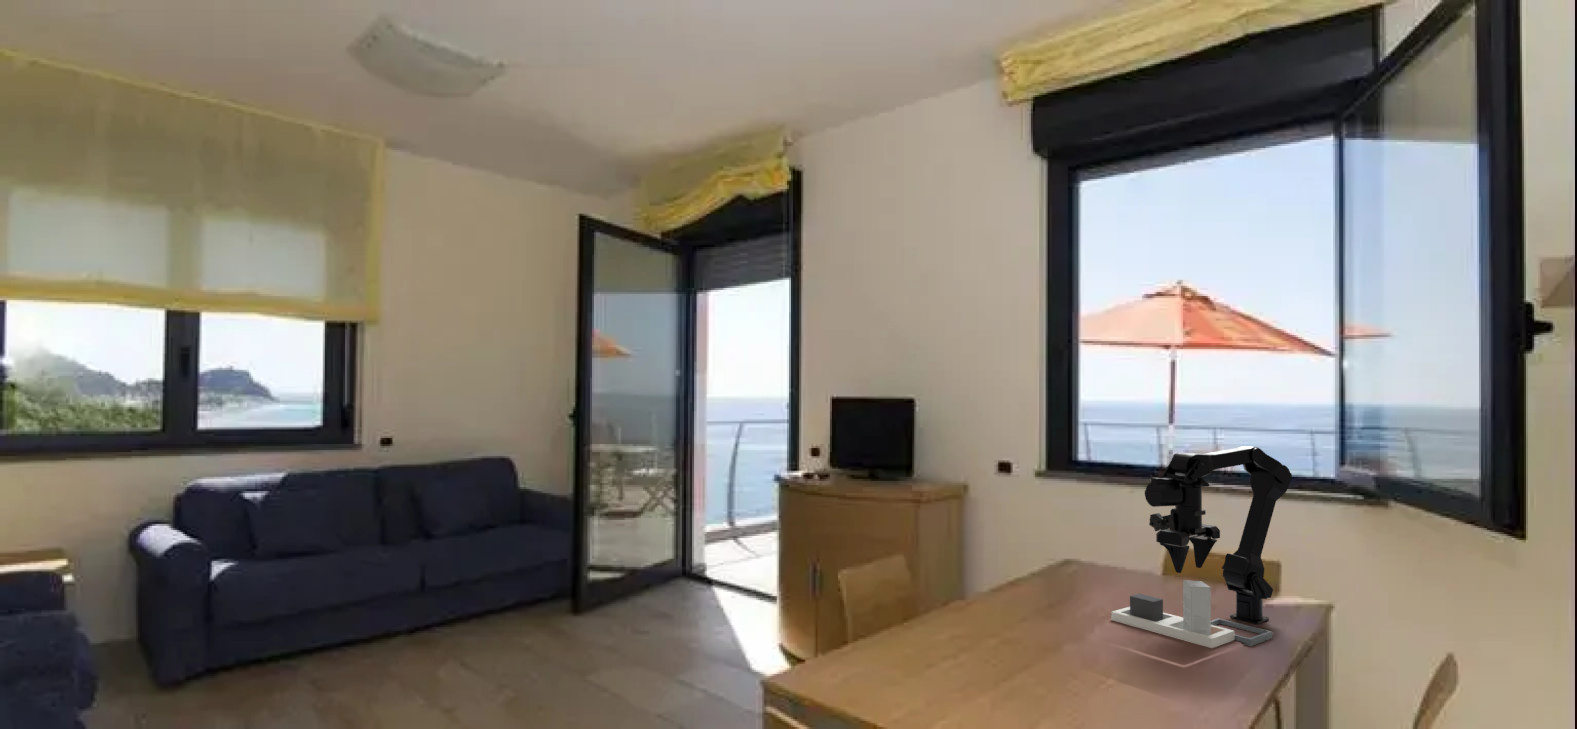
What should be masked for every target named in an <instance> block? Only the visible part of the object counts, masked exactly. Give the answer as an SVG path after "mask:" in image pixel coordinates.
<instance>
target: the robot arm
mask: <svg viewBox="0 0 1577 729" xmlns="http://www.w3.org/2000/svg"><path fill="white" fill-rule="evenodd" d="M1236 466H1237V467H1238V466H1243V469H1244V471H1245V472H1246V473H1248V475H1250V479H1249V484H1250V487H1251V492H1252V498H1251V503H1250V506H1249V509H1248V513H1247V516H1246V520H1245V524H1244V527H1243V531H1242V535H1241V538H1240V540H1239V545H1238V548H1237V550H1235V551H1234V552H1233V553H1226V554H1225V556H1224V557H1225V558H1224V563H1223V565H1222V566H1221V569H1222V577H1223V578H1224V581H1225V585H1226V588H1227V590H1228V591H1232V592H1235V613H1232V614H1230V615H1229V617H1230V618H1232V619H1237V620H1240V621H1245V622H1248V623H1251V624H1257V625H1258V624H1261V623H1264V622H1267V621H1269V620H1270V617H1268V616H1265V615H1264V604H1263V603H1264V600H1267V599H1270V598H1272V595H1273V592H1274V588H1273V587H1272V586H1271V585H1270V584H1269V583H1268V582H1267V580H1266V579H1265V578H1264V576H1265V566H1264V564H1263V560H1262V553H1263V549H1264V546H1265V542H1266V539H1267V536H1268V532H1269V528H1270V524H1271V521H1272V517H1273V514H1274V509H1275V506H1276V503H1277V501H1278V500H1279V499H1280V498H1282V497H1283V495H1285V494H1286V493H1287V490H1288V488H1289V486H1290V484H1291V482H1292V478H1293V477H1292V476H1293V475H1292V473H1291V472H1290V469H1289V467H1287V465H1285V464H1282V462H1280V461H1279V460H1277V459H1275V458H1274V457H1272V456H1270V455H1268V454H1267V453H1266V452H1265V451H1263V450H1262V449H1261V448H1260V447H1257V446H1247V445H1242V446H1239V447H1234V448H1229V449H1223V450H1216V451H1212V452H1204V453H1197V452H1183V451H1182V452H1176V453H1174V454H1173V455H1172V458H1171V460H1170V461H1169V463H1168V465H1167V467H1166V468H1165V470H1164V472H1163V474H1162V475H1161V477H1151V478H1150V479H1151V480H1150V483H1148V484H1147V486H1146V487H1145V490H1144V496H1145V500H1146V502H1147V504H1148V505H1150V507H1152V508H1153V507H1154V508H1155V507H1156V508H1157V507H1159V508H1160V507H1174V506H1175V508H1171V509H1170V514H1167V515H1162V514H1161V513H1159V512H1158V513H1152V514H1149V515H1150V516H1149V524H1148V525H1149V527H1151V528H1154V531H1155V532H1156V534H1155V535H1156V536H1155V538H1156V539H1155V540H1156V543H1159V544H1160V546H1163V548H1165V549H1166V550H1167V552H1168V554H1169V556H1170V559H1171V562H1172V565H1173V567H1174V571H1175V572H1176V573H1177V574H1181V573H1182V571H1183V568H1184V565H1185V563H1186V559H1187V556H1188V553H1189V550H1190V546H1191V545H1188V544H1189V542H1191V544H1192V547H1193V554H1194V562H1195V568H1196V569H1197V568H1198V569H1201V568H1202V567H1203V565H1204V564H1205V561H1206V560H1207V558H1208V556H1209V554H1210V552H1211V551H1212V549H1213V547H1214V546H1215V544H1216V543H1217V542H1218V539H1221V530H1220V528H1219V527H1217V525H1213V524H1204V523H1203V516H1204V515H1206V509H1203V503H1202V502H1203V501H1202V500H1203V489H1202V488H1203V487H1204V488H1205V487H1208V488H1209V487H1210V483H1209V482H1208V481H1207V480H1205V478H1204V477H1206V476H1209V475H1211V473H1212V472H1213V471H1216V470H1220V469H1225V468H1231V467H1232V468H1233V467H1236Z"/></svg>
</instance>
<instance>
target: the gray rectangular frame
mask: <svg viewBox="0 0 1577 729" xmlns="http://www.w3.org/2000/svg"><path fill="white" fill-rule="evenodd" d="M1211 625H1214V626H1218V625H1224V626H1228V627H1231V628H1235V629H1240V630H1244V631H1247V632H1252V633H1255V634H1257V635H1254V636H1252V637H1246V636H1243V635H1242V636H1241V635H1238V634H1235V640H1234V641H1236V642H1237V641H1238V642H1241V644H1242V645H1244V646H1248V647H1253V646H1255V645H1258V644H1261V643H1263V642H1266V641H1268V640H1271V639H1273V631H1272V630H1269V629H1263V628H1259V627H1255V626H1250V625H1247V624H1243V623H1239V622H1235V621H1231V620H1227V619H1222V618H1219V617H1217V618H1215V619H1212V620H1211ZM1270 638H1271V639H1270ZM1265 640H1266V641H1265Z"/></svg>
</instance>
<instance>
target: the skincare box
mask: <svg viewBox="0 0 1577 729" xmlns="http://www.w3.org/2000/svg"><path fill="white" fill-rule="evenodd" d="M1182 587H1183V588H1182V589H1183V592H1182V593H1183V594H1182V595H1183V596H1182V597H1183V598H1182V601H1183V602H1182V603H1183V604H1182V605H1183V608H1182V609H1183V610H1182V611H1183V616H1182V617H1183V629H1184V630H1188V631H1192V632H1195V633H1199V634H1203V635H1206V636H1209V635H1211V621H1212V620H1211V619H1212V618H1211V617H1212V615H1211V612H1212V611H1211V610H1212V609H1211V607H1212V606H1211V605H1212V602H1211V601H1212V600H1211V599H1212V598H1211V597H1212V596H1211V594H1212V593H1211V592H1212V591H1211V588H1212V587H1211V586H1209V585H1208V584H1206V583H1205V582H1204V581H1202V580H1190V579H1189V580H1188V579H1183V584H1182Z"/></svg>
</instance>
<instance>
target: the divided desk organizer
mask: <svg viewBox="0 0 1577 729" xmlns="http://www.w3.org/2000/svg"><path fill="white" fill-rule="evenodd" d="M1110 614H1111V621H1113V622H1116V623H1120V624H1124V625H1127V626H1131V627H1134V628H1137V629H1141V630H1145V631H1149V632H1151V633H1152V632H1153V633H1156V634H1160V635H1164V636H1166V637H1170V638H1173V639H1178V640H1181V641H1185V642H1188V643H1191V644H1195V645H1199V646H1203V647H1206V648H1210V649H1214V648H1217V647H1219V646H1221V645H1225V644H1227V643H1230V642H1234V641H1236V640H1235V635H1236V632H1235V629H1234V630H1233V629H1229V628H1226V627H1222V626H1218V625H1215V626H1214V625H1211V635H1209V636H1206V635H1203V634H1199V633H1195V632H1192V631H1188V630H1184V629H1183V616H1178V615H1175V614H1170V613H1167V612H1163V620H1160V621H1157V622H1154V621H1151V620H1147V619H1143V618H1139V617H1136V616H1132V615H1130V606H1126V607H1124V608H1123V607H1122V608H1119V609H1116V610H1113V611H1111V612H1110Z"/></svg>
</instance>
